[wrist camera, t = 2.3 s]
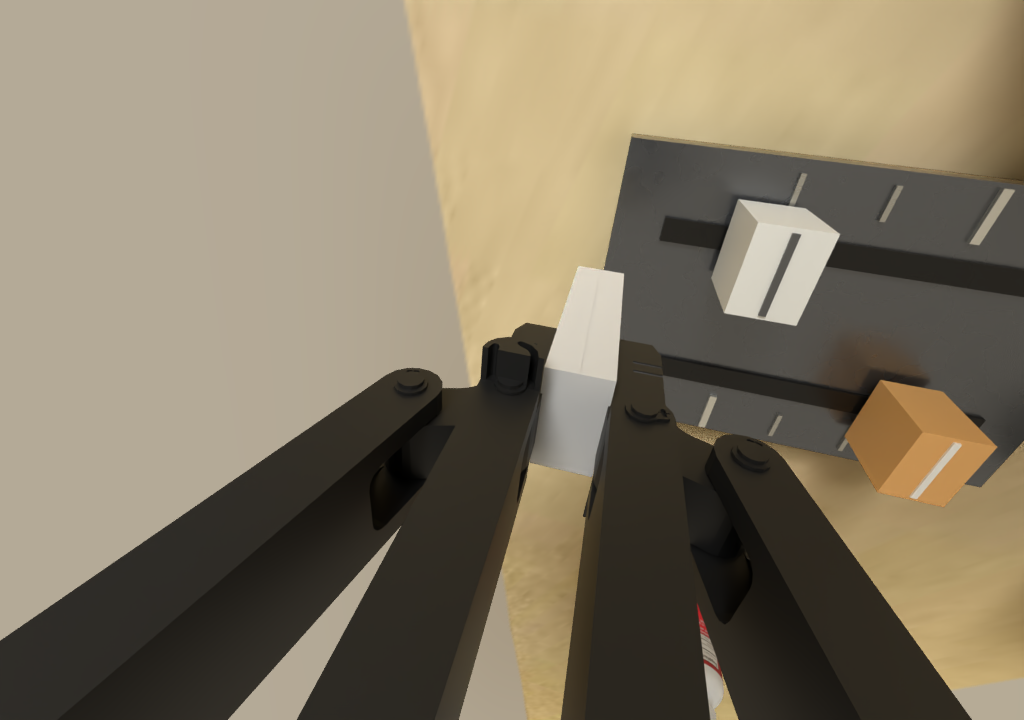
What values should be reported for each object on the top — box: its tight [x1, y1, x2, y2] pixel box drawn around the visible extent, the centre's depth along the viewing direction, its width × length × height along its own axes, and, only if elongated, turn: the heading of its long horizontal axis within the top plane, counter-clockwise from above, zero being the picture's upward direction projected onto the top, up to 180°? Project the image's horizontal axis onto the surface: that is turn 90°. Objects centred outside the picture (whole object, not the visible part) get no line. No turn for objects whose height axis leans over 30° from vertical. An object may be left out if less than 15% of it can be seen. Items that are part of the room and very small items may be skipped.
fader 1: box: [711, 199, 840, 326], centre depth 21 cm, size 4×3×4 cm
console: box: [604, 134, 1024, 487], centre depth 25 cm, size 16×24×2 cm, turn 84°
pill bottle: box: [697, 604, 724, 720], centre depth 36 cm, size 6×6×11 cm
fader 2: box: [845, 380, 997, 507], centre depth 23 cm, size 4×3×4 cm
